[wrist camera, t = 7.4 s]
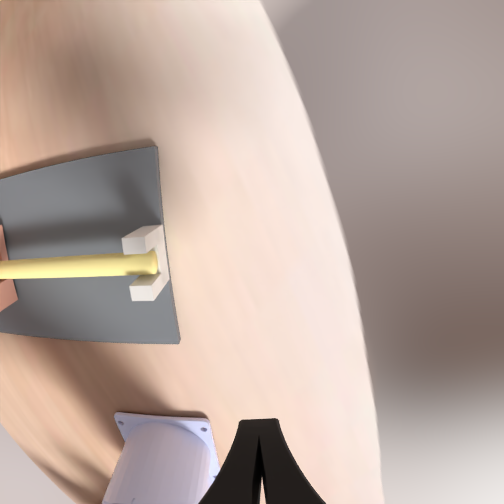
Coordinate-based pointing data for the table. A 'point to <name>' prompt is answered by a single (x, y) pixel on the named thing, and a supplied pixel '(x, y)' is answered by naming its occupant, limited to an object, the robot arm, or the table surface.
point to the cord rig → (89, 251)
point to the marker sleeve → (3, 290)
